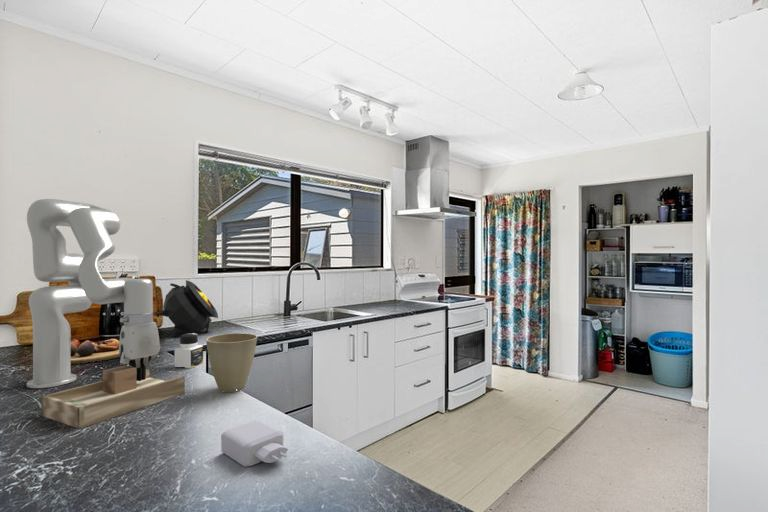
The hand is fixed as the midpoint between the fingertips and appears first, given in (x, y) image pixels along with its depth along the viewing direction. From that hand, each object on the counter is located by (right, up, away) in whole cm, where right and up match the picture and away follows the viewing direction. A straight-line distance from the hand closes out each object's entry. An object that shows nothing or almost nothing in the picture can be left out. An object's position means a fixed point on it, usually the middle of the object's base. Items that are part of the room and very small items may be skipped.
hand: (139, 379), depth 121 cm
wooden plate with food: (-49, -5, +48) cm, 69 cm away
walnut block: (-3, -1, -5) cm, 6 cm away
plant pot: (+27, -4, +3) cm, 27 cm away
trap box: (0, -4, -9) cm, 10 cm away
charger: (+49, -4, -40) cm, 63 cm away
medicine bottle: (0, -4, +30) cm, 31 cm away
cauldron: (-32, -5, +95) cm, 100 cm away
